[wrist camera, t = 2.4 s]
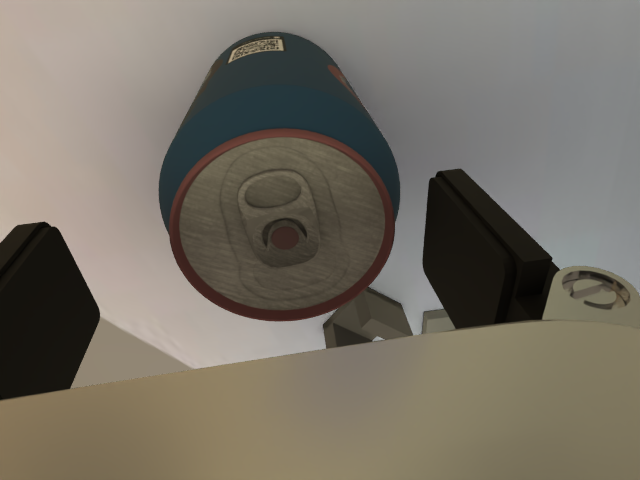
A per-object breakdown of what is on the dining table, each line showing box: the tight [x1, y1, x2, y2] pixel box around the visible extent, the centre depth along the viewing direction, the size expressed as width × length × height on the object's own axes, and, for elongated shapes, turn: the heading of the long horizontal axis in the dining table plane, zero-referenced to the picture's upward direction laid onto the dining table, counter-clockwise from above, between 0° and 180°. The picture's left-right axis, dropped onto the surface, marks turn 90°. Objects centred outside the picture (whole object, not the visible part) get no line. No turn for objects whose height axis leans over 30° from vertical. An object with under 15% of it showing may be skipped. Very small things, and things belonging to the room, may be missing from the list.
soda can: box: [159, 32, 400, 321], centre depth 15 cm, size 7×7×12 cm
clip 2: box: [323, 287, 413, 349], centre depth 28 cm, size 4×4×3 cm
